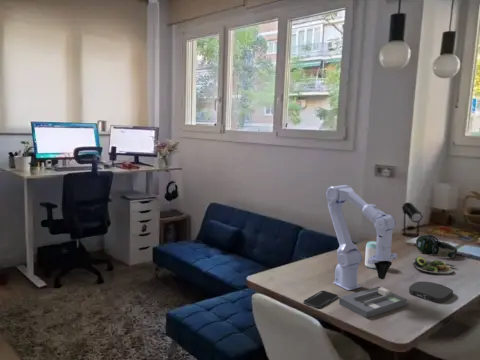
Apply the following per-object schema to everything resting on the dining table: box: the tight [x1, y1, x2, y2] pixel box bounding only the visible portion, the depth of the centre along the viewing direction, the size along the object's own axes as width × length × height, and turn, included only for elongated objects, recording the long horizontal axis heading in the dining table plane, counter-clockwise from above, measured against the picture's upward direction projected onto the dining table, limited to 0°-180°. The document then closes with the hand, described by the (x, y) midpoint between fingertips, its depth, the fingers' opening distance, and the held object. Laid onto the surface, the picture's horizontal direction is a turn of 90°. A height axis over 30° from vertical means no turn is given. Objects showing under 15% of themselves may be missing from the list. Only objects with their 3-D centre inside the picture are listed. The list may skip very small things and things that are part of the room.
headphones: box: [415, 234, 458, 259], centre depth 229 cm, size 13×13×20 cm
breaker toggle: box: [378, 286, 391, 296], centre depth 170 cm, size 4×2×2 cm, turn 31°
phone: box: [302, 290, 339, 310], centre depth 171 cm, size 8×1×15 cm
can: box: [364, 240, 376, 269], centre depth 209 cm, size 7×7×12 cm
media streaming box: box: [408, 281, 454, 304], centre depth 178 cm, size 15×15×3 cm
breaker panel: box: [338, 286, 407, 319], centre depth 167 cm, size 14×22×4 cm, turn 121°
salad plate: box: [412, 255, 456, 275], centre depth 207 cm, size 19×18×5 cm
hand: (381, 278), depth 171 cm, fingers closed
